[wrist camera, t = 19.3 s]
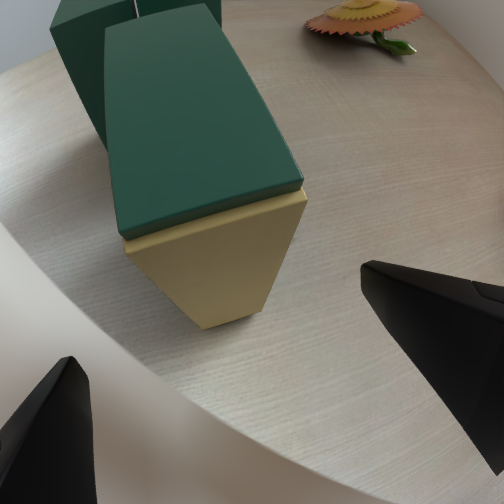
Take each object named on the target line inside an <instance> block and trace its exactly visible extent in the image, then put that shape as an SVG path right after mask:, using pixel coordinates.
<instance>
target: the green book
mask: <svg viewBox="0 0 504 504" xmlns="http://www.w3.org/2000/svg"><path fill="white" fill-rule="evenodd" d="M104 92H105V117H106V133H107V146H108V157H109V167H110V176H111V185H112V193H113V200H114V207H115V214H116V220H117V227H118V232H119V234H120V235H121V236H122V237H123V245H124V250H125V254H126V255H127V256H128V257H129V258H130V259H131V260H132V261H133V263H134V264H135V265H136V266H137V267H138V268H139V269H140V270H141V271H142V272H143V273H144V274H145V275H146V276H147V277H148V278H149V279H150V280H151V281H152V282H153V283H154V284H155V285H156V286H157V287H158V288H159V289H160V290H161V291H162V292H163V293H164V294H165V295H166V296H167V297H168V298H169V299H170V300H172V301H173V302H174V303H175V304H176V305H177V306H178V307H179V308H180V309H181V310H182V311H183V312H184V313H185V314H186V315H187V316H188V317H189V318H191V319H192V320H193V321H194V322H195V323H196V324H197V325H198V326H199V327H200V328H201V329H202V330H205V329H208V328H211V327H215V326H218V325H221V324H224V323H227V322H230V321H234V320H237V319H240V318H243V317H246V316H249V315H252V314H255V313H258V312H261V311H262V309H263V306H264V304H265V302H266V299H267V297H268V295H269V292H270V290H271V288H272V285H273V283H274V281H275V278H276V276H277V274H278V271H279V269H280V267H281V264H282V262H283V259H284V257H285V255H286V252H287V250H288V248H289V245H290V243H291V240H292V238H293V235H294V233H295V231H296V228H297V226H298V223H299V221H300V218H301V216H302V213H303V211H304V209H305V206H306V204H307V201H308V199H307V196H306V194H305V192H304V190H303V188H302V184H303V181H304V177H303V175H302V173H301V171H300V169H299V167H298V165H297V163H296V161H295V159H294V157H293V155H292V153H291V151H290V149H289V147H288V145H287V143H286V141H285V140H284V138H283V136H282V134H281V132H280V130H279V128H278V126H277V124H276V122H275V121H274V119H273V117H272V115H271V113H270V111H269V110H268V108H267V106H266V104H265V102H264V100H263V99H262V97H261V95H260V93H259V92H258V90H257V88H256V86H255V84H254V83H253V81H252V79H251V77H250V76H249V74H248V72H247V71H246V69H245V67H244V65H243V64H242V62H241V60H240V59H239V57H238V55H237V54H236V52H235V50H234V49H233V47H232V46H231V44H230V42H229V41H228V39H227V37H226V36H225V34H224V33H223V31H222V29H221V28H220V26H219V25H218V23H217V22H216V20H215V18H214V17H213V15H212V14H211V12H210V11H209V9H208V8H207V6H206V5H205V3H202V4H196V5H191V6H185V7H180V8H176V9H171V10H167V11H162V12H158V13H154V14H150V15H147V16H143V17H139V18H136V19H132V20H129V21H126V22H123V23H119V24H116V25H113V26H110V27H107V28H105V43H104Z"/></svg>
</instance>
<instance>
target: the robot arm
mask: <svg viewBox="0 0 504 504" xmlns="http://www.w3.org/2000/svg"><path fill="white" fill-rule="evenodd" d="M360 273H361V290H362V293H363V295H364V296H365V298H366V299H367V301H368V302H369V304H370V305H371V307H372V308H373V310H374V311H375V313H376V314H377V316H378V317H379V319H380V321H381V322H382V324H383V325H384V327H385V328H386V329H387V331H388V332H389V333H390V335H391V336H392V337H393V338H394V339H395V341H396V342H397V343H398V344H399V346H400V347H401V348H402V349H403V351H404V352H405V353H406V354H407V356H408V357H409V358H410V359H411V361H412V362H413V363H414V364H415V366H416V367H417V368H418V369H419V371H420V372H421V373H422V375H423V376H424V377H425V378H426V380H427V381H428V382H429V384H430V385H431V386H432V388H433V389H434V390H435V391H436V393H437V394H438V395H439V397H440V398H441V399H442V401H443V402H444V403H445V405H446V406H447V407H448V409H449V410H450V411H451V413H452V414H453V415H454V417H455V418H456V419H457V421H458V422H459V424H460V425H461V426H462V427H463V429H464V431H465V432H466V434H467V435H468V436H469V438H470V439H471V440H472V442H473V443H474V445H475V446H476V448H477V449H478V450H479V452H480V453H481V455H482V456H483V458H484V459H485V460H486V462H487V463H488V465H489V466H490V468H491V469H492V471H493V472H494V473H495V475H496V476H498V475H499V474H500V473H501V472H502V471H503V470H504V287H503V286H497V285H491V284H486V283H481V282H477V281H472V282H471V280H467V279H463V278H458V277H453V276H449V275H444V274H439V273H434V272H430V271H425V270H420V269H415V268H410V267H405V266H400V265H396V264H391V263H386V262H381V261H376V260H371V261H368V262H366V263H363V264H362V265H361V268H360ZM92 423H93V422H92V412H91V403H90V389H89V380H88V377H87V375H86V373H85V372H84V370H83V369H82V367H81V366H80V364H79V363H78V362H77V360H76V359H75V358H74V357H73V356H68V357H64V358H61V359H60V360H59V361H58V362H57V363H56V365H54V367H53V368H52V369H51V370H50V371H49V372H48V373H47V375H46V376H45V377H44V378H43V379H42V380H41V381H40V383H39V384H38V385H37V386H36V387H35V388H34V390H33V391H32V392H31V393H30V394H29V395H28V397H27V398H26V399H25V400H24V401H23V403H22V404H21V405H20V406H19V407H18V409H17V410H16V411H15V412H14V413H13V415H12V416H11V417H10V418H9V420H8V421H7V422H6V423H5V425H4V426H3V427H2V428H1V430H0V504H97V495H96V485H95V472H94V455H93V454H94V453H93V424H92Z"/></svg>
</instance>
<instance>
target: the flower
mask: <svg viewBox="0 0 504 504" xmlns="http://www.w3.org/2000/svg"><path fill="white" fill-rule="evenodd" d="M416 6H419V5H414V3H409V2H399V1H395V0H346V1H342V3H339V5H337V6H335V7H332V8H329V9H328V10H327V12H326V10H325V14H322V15H320V16H317V17H314V18H313V19H310V21H307V22H308V23H306V24H308V25H306V26H310V25H311V26H310V27H308V28H311V27H313V28H312V29H310V30H313V29H316V30H315V32H316V31H319V30H322V32H321V33H323V32H326V31H329V33H330V34H332V33H335V32H337V31H338V33H339V34H340V35H342V34H344V33H345V32H349V33H350V34H351V35H357V36H364V35H369V34H370V35H371V37H372V39H373V40H374V42H375V43H376V44H377V45H379V46H380V47H383V48H387V49H389V50H390V51H391V53H392V54H393V55H412V54H414V53H416V51H417V50H416V49H414V48H413V47H412V46H411V45H410V44H409V43H408V42H406V41H404V40H394V39H388V38H385V36H384V32H385V31H388V30H390V31H391V29H392V28H393V27H394V28H398V26H397V25H401V26H405V25H404V24H403V23H408V24H411V23H409V22H408V21H415V20H414V19H413V18H417V19H421V18H419V17H418V16H417V15H422V16H425V15H423V14H421V13H419V12H424V11H421V10H418V9H422V8H419V7H416ZM407 20H408V21H407ZM415 22H416V21H415ZM304 27H305V26H304ZM306 29H307V28H306ZM398 29H399V28H398Z"/></svg>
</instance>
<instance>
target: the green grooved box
mask: <svg viewBox="0 0 504 504" xmlns="http://www.w3.org/2000/svg"><path fill="white" fill-rule="evenodd" d="M136 3H137V8H138V13H139V17H143V16H147V15H150V14H154V13H158V12H162V11H167V10H171V9H176V8H180V7H185V6H191V5H196V4H202V3H205V5H206V6H207V8H208V9H209V11H210V12H211V14H212V15H213V17H214V18H215V20H216V22H217V23H218V25H219V26H220V28H221V29H222V14H221V0H136ZM136 18H137V14H136V9H135V4H134V0H61V2H60V4H59V7H58V9H57V12H56V14H55V16H54V19H53V21H52V24H51V26H50V32H51V34H52V37H53V39H54V42H55V44H56V46H57V49H58V51H59V53H60V56H61V58H62V60H63V62H64V65H65V67H66V69H67V71H68V73H69V76H70V78H71V80H72V82H73V84H74V86H75V89H76V91H77V93H78V95H79V97H80V99H81V101H82V103H83V105H84V107H85V109H86V111H87V113H88V115H89V117H90V119H91V121H92V123H93V125H94V127H95V129H96V131H97V133H98V135H99V137H100V139H101V141H102V143H103V144H104V146H105V148H106V150H107V152H108V146H107V133H106V117H105V92H104V43H105V28H107V27H110V26H113V25H116V24H119V23H123V22H126V21H129V20H132V19H136Z"/></svg>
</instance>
